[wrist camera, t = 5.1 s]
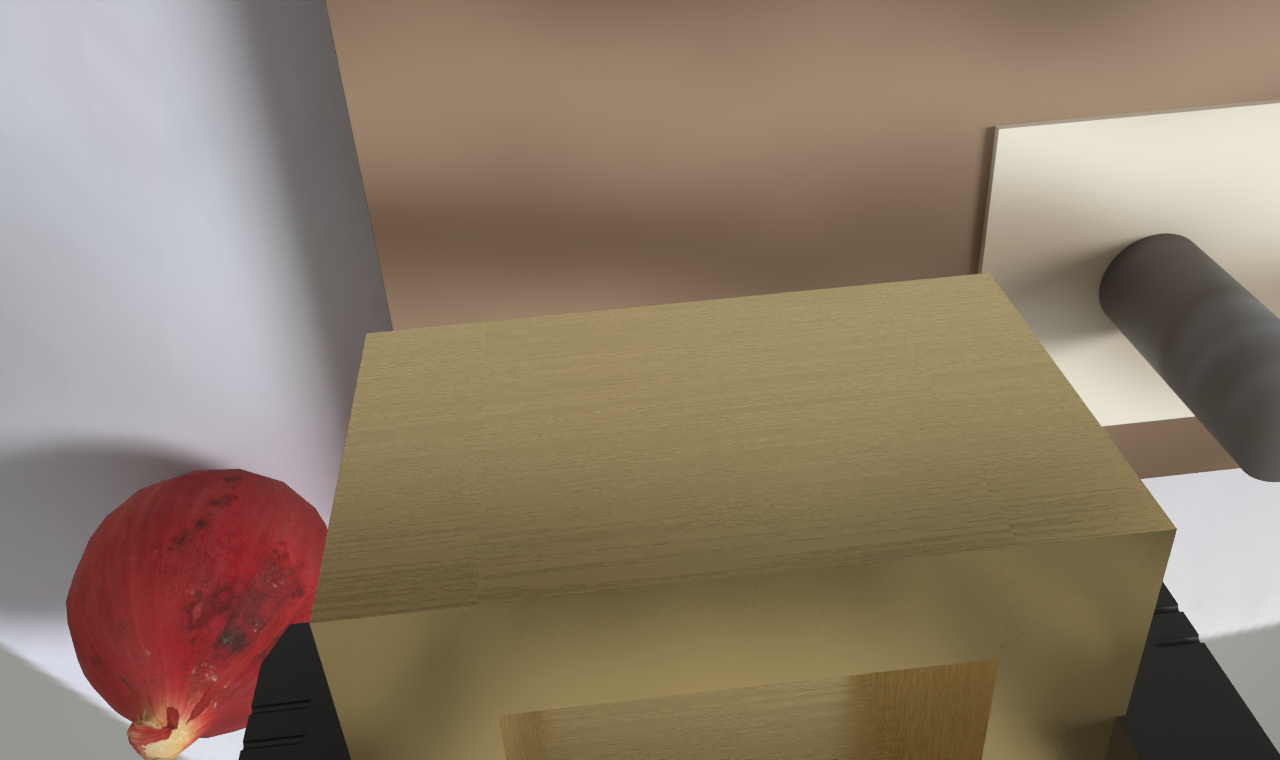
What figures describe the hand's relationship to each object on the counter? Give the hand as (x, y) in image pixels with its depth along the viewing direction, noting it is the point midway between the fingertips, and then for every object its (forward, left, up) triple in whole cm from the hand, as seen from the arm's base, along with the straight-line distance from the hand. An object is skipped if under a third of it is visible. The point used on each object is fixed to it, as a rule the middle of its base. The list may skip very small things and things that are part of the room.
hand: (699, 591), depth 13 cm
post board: (+2, +6, -15) cm, 16 cm away
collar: (0, 0, -1) cm, 1 cm away
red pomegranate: (+9, -10, -15) cm, 20 cm away
